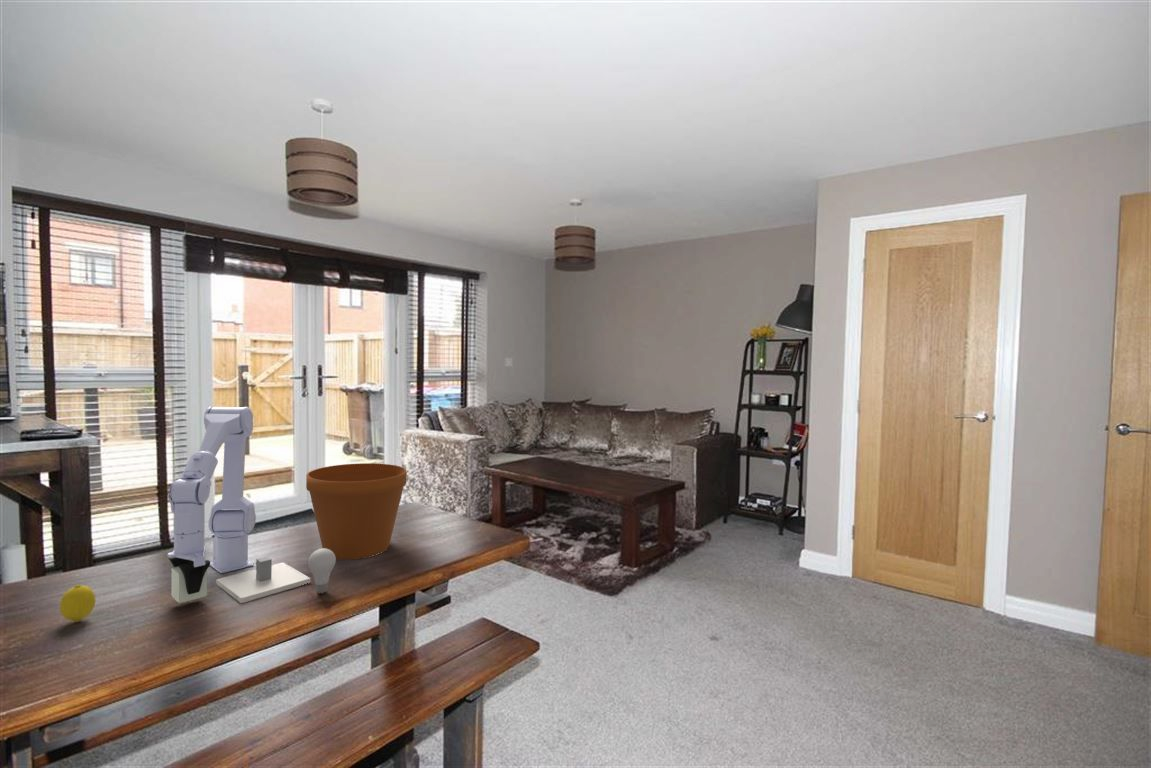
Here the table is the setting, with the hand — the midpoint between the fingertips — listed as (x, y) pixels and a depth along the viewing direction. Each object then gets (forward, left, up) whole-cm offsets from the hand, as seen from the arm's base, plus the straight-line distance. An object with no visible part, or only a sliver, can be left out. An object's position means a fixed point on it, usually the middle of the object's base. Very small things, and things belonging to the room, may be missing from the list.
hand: (189, 589), depth 124 cm
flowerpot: (-7, +45, -4) cm, 46 cm away
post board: (0, +16, -4) cm, 16 cm away
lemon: (-7, -18, -4) cm, 20 cm away
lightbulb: (+16, +23, -4) cm, 28 cm away
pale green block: (0, 0, -2) cm, 2 cm away
